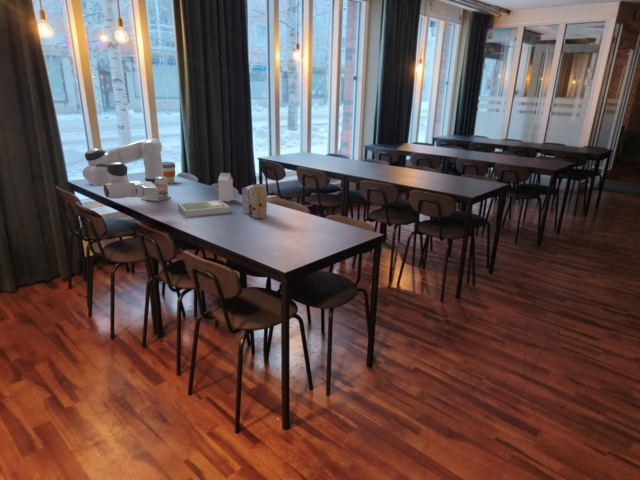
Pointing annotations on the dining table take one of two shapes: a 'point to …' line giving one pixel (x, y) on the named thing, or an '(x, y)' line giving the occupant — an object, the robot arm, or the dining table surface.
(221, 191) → the milk carton
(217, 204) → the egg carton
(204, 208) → the pale green tray
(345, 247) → the dining table surface
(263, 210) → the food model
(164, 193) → the glass jar
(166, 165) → the reusable coffee cup
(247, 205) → the candy bar box
